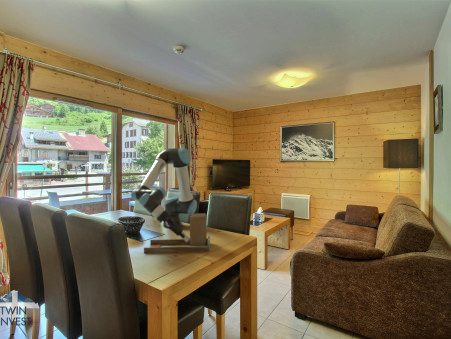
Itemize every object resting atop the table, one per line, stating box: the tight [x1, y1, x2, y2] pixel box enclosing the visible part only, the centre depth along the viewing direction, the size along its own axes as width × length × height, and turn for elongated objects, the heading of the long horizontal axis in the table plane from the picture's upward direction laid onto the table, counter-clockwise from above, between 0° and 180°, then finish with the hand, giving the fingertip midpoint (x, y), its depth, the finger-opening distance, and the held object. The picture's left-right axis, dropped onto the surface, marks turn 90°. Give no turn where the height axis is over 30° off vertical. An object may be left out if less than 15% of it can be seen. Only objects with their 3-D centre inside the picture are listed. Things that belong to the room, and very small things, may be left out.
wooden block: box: [189, 212, 208, 246], centre depth 151 cm, size 10×10×20 cm
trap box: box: [143, 233, 211, 254], centre depth 149 cm, size 15×38×6 cm, turn 92°
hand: (188, 240), depth 149 cm, fingers closed
